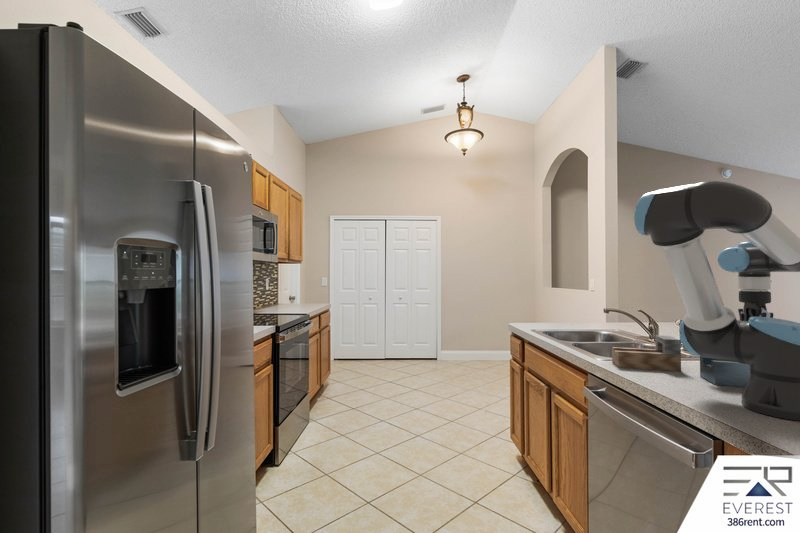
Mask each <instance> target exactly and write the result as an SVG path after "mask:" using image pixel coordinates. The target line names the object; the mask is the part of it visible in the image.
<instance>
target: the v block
mask: <svg viewBox="0 0 800 533" xmlns="http://www.w3.org/2000/svg"><path fill="white" fill-rule="evenodd" d="M699 377H700V378H702V379H703V380H705V381H707V382H709V383H711V384H713V385H714V386H726V387H743V388H745V387H746V385H747V382H748V380H749V378H750V365H749V364H744V363H738V362H732V361H726V360H719V359H713V358H704V357H702V356H699Z"/></svg>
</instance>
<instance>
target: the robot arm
mask: <svg viewBox="0 0 800 533" xmlns="http://www.w3.org/2000/svg"><path fill="white" fill-rule="evenodd" d="M633 220H634V226H635V229H636V231H637V232H638V233H639V234H641V235H643V236H650V239H651V241H652V243H653V244H654V246H656V247H659V248H661V249H662V251H663V253H664V256H665V259H666V262H667V264H668V268H669V270H670V272H671V275H672V278H673V280H674V283H675V286H676V288H677V290H678V293H679V296H680V297H681V300H682V303H683V306H684V308H685V311H686V314H685V315H684V316H683V319H682V321H680V324H679V333H680V334H679V340H681V344H682V346H683V348H685V350H686V351H687V352H688V353H690V354H691V355H695V356H698V357H700V356H702V357H704V358H713V359H719V360H726V361H732V362H738V363H744V364H749V365H750V378H749V380H748V382H747V385H746V387H744V390H743V392H742V394H741V405H742V406H743V407H745V408H746V409H749V410H750V411H753V412H756V413H760V414H763V415H767V416H771V417H775V418H779V419H785V420H790V421H798V422H800V322H797V321H792V320H788V319H781V318H775V317H774V312H769V311H767V310H768V308H767V305H766V304H771V302H772V292H771V291H769V290H771V289H772V288H771V284H772V280H771V273H800V237H799V236H798V235H797V234H796V233H795V232H793V231H792V229H790V228H789V227H788V226H787V225H786V224H785V223H784V222H783V221H782V220H781V219H780V218H778V216H776V214H774V213H773V207H772V204H771V203H770V202H769V201H768V200H767V199H766V197H764V196H763V195H762V194H760V193H758V192H756V191H754V190H752V189H751V188H748V187H745V186H743V185H741V184H740V185H739V184H736V183H733V182H728V181H721V180H720V181H719V180H706V181H701V182H697V183H690V184H684V185H679V186H672V187H668V188H659V189H657V190H654V191H650V192H647V193H645V194H643V195H642V196H640V198H639V199H638V201H637V203H636V206H635V209H634V216H633ZM716 229H717V230H726V231H728V232H730V233H732V234H738V235H740V236H742V237H743V238H745V239H746V240H747V241H746V242H740V243H738V245H737V246H731V247H726V248H725V249H723V250H722V251H721V252H719V254H718V256H717V264H718V265H719V267H720V268H721V269H722V270H724V271H726V272H730V273H734V274H735V273H738V274H737V275H738V277H737V283H738V284H737V285H738V286H737V288H738V290H739V291H738V301H739V303H743V308H738V310H737V311H738V315H739V319H738V320H737V317H736V315H735V313H734V311H733V310H732V309H731V308H729V307H727V306H725V304H724V302H723V299H722V296H721V293H720V291H719V287H718V284H717V281H716V279H715V276H714V273H713V269H712V267H711V264H710V262H709V258H708V256H707V253H706V251H705V248H704V245H703V242H702V239H701V237H702V236H703V235H704V234H705V231H706V230H716Z"/></svg>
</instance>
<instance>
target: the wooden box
mask: <svg viewBox="0 0 800 533" xmlns="http://www.w3.org/2000/svg"><path fill="white" fill-rule="evenodd" d="M654 336H655V342H654V343H655V348H642V347H641V348H640V347H639V348H638V347H617V346H612V347H611V361H612V363H613V364H614V365H616V367H617V368H624V369H625V368H626V369H639V370H640V369H642V370H658V371H672V372H673V371H675V372H682V345H681V344H682V342H681V339H680V338H676V337H674V336H672V335H661V334H660V335H657V334H656V335H655V334H654Z"/></svg>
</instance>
